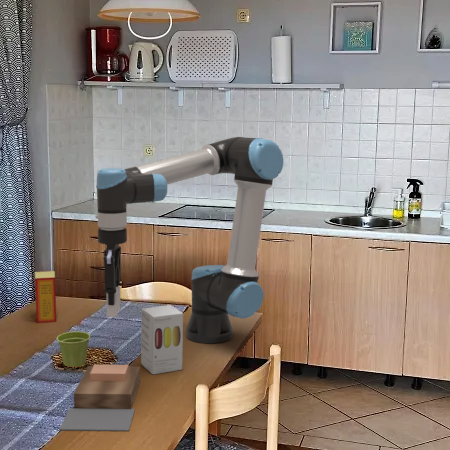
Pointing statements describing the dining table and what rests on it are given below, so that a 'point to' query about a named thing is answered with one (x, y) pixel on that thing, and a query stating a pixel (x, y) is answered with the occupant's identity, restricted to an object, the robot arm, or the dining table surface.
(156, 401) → the dining table surface
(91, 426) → the mat
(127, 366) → the tile
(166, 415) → the dining table surface
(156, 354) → the supplement box
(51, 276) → the baking soda box
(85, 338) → the plant pot
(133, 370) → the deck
